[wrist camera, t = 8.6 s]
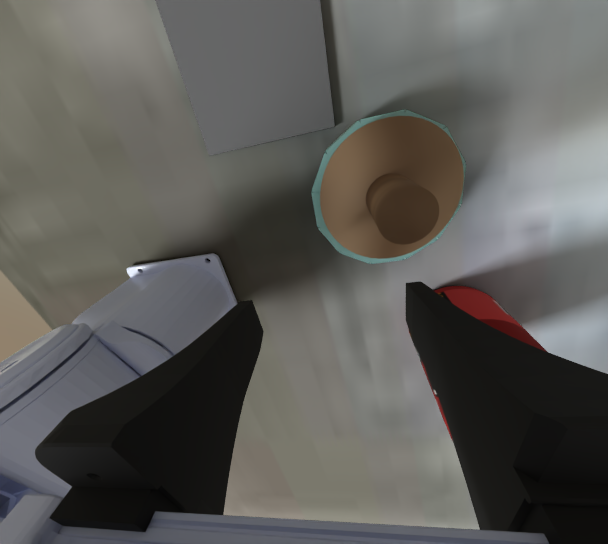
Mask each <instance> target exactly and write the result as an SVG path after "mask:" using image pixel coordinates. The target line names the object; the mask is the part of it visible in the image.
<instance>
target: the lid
mask: <svg viewBox="0 0 608 544" xmlns="http://www.w3.org/2000/svg"><path fill="white" fill-rule="evenodd" d="M463 182H464V171H463V164H462V159H461V156H460V153H459V151H458V149H457V147H456V145H455V143H454V142H453V140H452V139H451V138H450V137H449V135H448V134H447V133H446V132H445V131H443V130H442V129H441V128H440V127H438V126H437V125H435V124H433V123H432V122H430V121H427V120H425V119H422V118H417V117H413V116H393V117H387V118H383V119H379V120H376V121H374V122H371V123H369V124H366V125H364V126H363V127H361V128H359V129H357V130H356V131H355V132H353V133H352V134H351V135H349V136H348V137H347V138H346V139H345V140H344V141H343V142H342V143H341V144H340V145H339V147H338V148H337V149H336V150H335V152H334V153H333V155H332V156H331V158H330V160H329V162H328V164H327V166H326V169H325V172H324V175H323V179H322V183H321V190H320V206H321V212H322V216H323V219H324V222H325V224H326V226H327V228H328V230H329V232H330V233H331V235H332V236H333V237H334V238H335V239H336V241H337V242H339V243H340V244H341V245H342V246H343V247H345V248H346V249H348V250H349V251H351V252H353V253H355V254H358V255H361V256H364V257H369V258H377V259H385V258H394V257H398V256H402V255H405V254H408V253H411V252H413V251H415V250H417V249H419V248H421V247H422V246H424V245H426V244H427V243H429V242H430V241H431V240H432V239H434V238H435V237H436V236H437V235H438V234H439V233H440V232H441V231H442V230H443V229H444V227H445V226H446V225H447V224H448V222H449V221H450V219H451V218H452V216H453V214H454V212H455V210H456V208H457V206H458V204H459V201H460V198H461V194H462V190H463Z"/></svg>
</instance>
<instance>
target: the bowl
mask: <svg viewBox="0 0 608 544" xmlns="http://www.w3.org/2000/svg"><path fill="white" fill-rule="evenodd" d="M393 116H413V117H417V118H422V119H425V120H427V121H430V122H432V123H433V124H435V125H437V126H438V127H440V128H441V129H442V130H443V131H445V132H446V133H447V134H448V135H449V137H450V138H451V139H452V140H453V142H454V143H455V141H454V139H453V137H452V136H451V134H450V132H449V130H448V128H447V127H445V125H443V124H440V123H438V122H436V121H433V120H431V119H428V118H426V117H424V116H421V115H419V114H416V113H414V112H412V111H409V110H407V109H406V110H404V109H403V110H399V111H395V112H391V113H386V114H382V115H378V116H373V117H369V118H365V119H360V120H358V121H356V122H355V123H354V124H353V125H351V126H350V127H349V128H348V129H347V130H346V131H345V132H344V133H343V134H342V135H340V136H339V137H338V138H337V139H336V140H335V141H334V142H333V143H332V144H331V145H330V146H329V147H328V148H327V149H326V151H325V153H324V156H323V159H322V162H321V164H320V167H319V170H318V173H317V176H316V179H315V182H314V185H313V188H312V192H311V194H312V200H313V205H314V211H315V217H316V222H317V227H318V229H319V230H320V231H321V233H322V234H323V235H324V236H325V237H326V238H327V240H328V241H329V242H330V243H331V244H332V245H333V247H334V248H335V249H336V250H337V251H338V252H340V254H343V255H346V256H349V257H352V258H354V259H357V260H360V261H363V262H366V263H369V264H370V262H371V264H375V263H383V262H391V261H398V260H405V258H406V259H407V258H409V257H410V256H412V255H414V254H415V253H417V252H419V251H420V250H422V249H423V248H425V247H427V246H428V245H430V244H432V243H433V242H435V241H436V240H437V238H440V236H441V235H442V233H443V232H444V230H445V229H446V227H447V226H448V224H449V223H450V221H451V220H452V218H453V217H454V216H455V214H456V213H457V211H458V210H459V208H460V207H461V206H460V204H462V197H463V190H462V194H461V198H460V201H459V204H458V206H457V208H456V210H455V212H454V214H453V216H452V218H451V219H450V221H449V222H448V224H447V225H446V226H445V227H444V229H443V230H442V231H441V232H440V233H439V234H438V235H437V236H436V237H435V238H434V239H432V240H431V241H430V242H429V243H427V244H426V245H424V246H422V247H421V248H419V249H417V250H415V251H413V252H411V253H408V254H405V255H402V256H398V257H394V258H385V259H377V258H369V257H364V256H361V255H358V254H355V253H353V252H351V251H349V250H348V249H346V248H345V247H343V246H342V245H341V244H340V243H339V242H337V241H336V239H335V238H334V237H333V236H332V235H331V233H330V232H329V230H328V228H327V226H326V224H325V222H324V219H323V216H322V212H321V206H320V190H321V183H322V179H323V175H324V172H325V169H326V166H327V164H328V162H329V160H330V158H331V156H332V155H333V153H334V152H335V150H336V149H337V148H338V147H339V145H340V144H341V143H342V142H343V141H344V140H345V139H346V138H347V137H348V136H349V135H351V134H352V133H353V132H355V131H356V130H357V129H359V128H361V127H363V126H364V125H366V124H369V123H371V122H374V121H376V120H379V119H383V118H387V117H393ZM455 145H456V143H455ZM456 147H457V145H456ZM457 149H458V147H457ZM458 151H459V153H460V156H461V159H462V164H463V171H464V179H465V170H466V164H464V163H465V160H464V158H463V156H462V154H461V152H460V150H459V149H458ZM463 188H464V182H463Z"/></svg>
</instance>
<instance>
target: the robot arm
mask: <svg viewBox="0 0 608 544" xmlns="http://www.w3.org/2000/svg"><path fill="white" fill-rule="evenodd" d="M207 258H208V259H209V260H210V262H209V261H208V260H207ZM141 269H142V270H143V271H142V270H141ZM127 273H128V274H129V276H130V279H128V280H127V281H126V282H124V283H123V284H121V285H120V286H119V287H117V288H116V289H114V290H113V291H112V292H110V293H109V294H107V295H106V296H105V297H103V298H102V299H100V300H99V301H98V302H96V303H95V304H93V305H92V306H91V307H89V308H88V309H86V310H85V311H84V312H82V313H81V314H80V315H79V316H78V317H77V318H76V319H75V320H74V321H73V323H72V324H65V325H62V326H60V327H58V328H56V329H54V330H52V331H50V332H49V333H47V334H45V335H43V336H42V337H40V338H39V339H37V340H35V341H34V342H32V343H30V344H29V345H27V346H25V347H24V348H22V349H21V350H19V351H18V352H16V353H14V354H13V355H11V356H10V357H8V358H7V359H5V360H4V361H2V362H1V363H0V544H608V374H606V373H603V372H600V371H597V370H594V369H591V368H588V367H586V366H583V365H580V364H577V363H574V362H572V361H569V360H566V359H564V358H561V357H558V356H556V355H553V354H551V353H548V352H546V351H543V350H541V349H539V348H536V347H534V346H532V345H529V344H527V343H524V342H522V341H520V340H518V339H516V338H513V337H511V336H509V335H507V334H505V333H503V332H501V331H499V330H497V329H495V328H493V327H491V326H489V325H488V324H486V323H484V322H482V321H480V320H479V319H477V318H475V317H473V316H472V315H470V314H468V313H467V312H465V311H463V310H462V309H460V308H459V307H457V306H455V305H454V304H452V303H451V302H449V301H448V300H446V299H445V298H443V297H442V296H441V295H439V294H438V293H436V292H435V291H433V290H432V289H431V288H429V287H428V286H426V285H425V284H424V283H422V282H412V283H406V322H407V325H408V328H409V332H410V335H411V338H412V340H413V343H414V345H415V347H416V349H417V351H418V354H419V356H420V358H421V360H422V362H423V364H424V367H425V369H426V371H427V373H428V375H429V377H430V380H431V382H432V384H433V386H434V388H435V391H436V393H437V396H438V398H439V401H440V404H441V407H442V410H443V413H444V416H445V418H446V421H447V424H448V427H449V430H450V433H451V436H452V439H453V442H454V445H455V448H456V452H457V455H458V458H459V461H460V464H461V467H462V471H463V474H464V477H465V480H466V483H467V487H468V490H469V493H470V497H471V500H472V504H473V507H474V510H475V514H476V517H477V520H478V524H479V527H480V530H473V529H455V528H438V527H420V526H403V525H385V524H368V523H350V522H333V521H315V520H298V519H280V518H263V517H245V516H228V515H223V512H224V505H225V498H226V491H227V484H228V477H229V471H230V465H231V459H232V453H233V448H234V443H235V438H236V433H237V428H238V423H239V418H240V414H241V410H242V405H243V401H244V398H245V394H246V391H247V388H248V385H249V382H250V379H251V376H252V373H253V370H254V367H255V364H256V361H257V358H258V355H259V352H260V348H261V343H262V337H263V329H262V326H261V324H260V321H259V318H258V315H257V313H256V310H255V307H254V304H253V302H252V300H250V301H241V302H239V303H237V301H236V298H235V296H234V293H233V291H232V288H231V286H230V283H229V281H228V278H227V276H226V273H225V271H224V268H223V266H222V263H221V261H220V258H219V257H218V255H216V254H206V255H199V256H193V257H186V258H179V259H173V260H166V261H160V262H153V263H147V264H140V265H133V266H130V267H128V268H127Z"/></svg>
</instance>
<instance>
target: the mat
mask: <svg viewBox="0 0 608 544" xmlns="http://www.w3.org/2000/svg"><path fill="white" fill-rule="evenodd" d="M155 1H156V4H157V7H158V10H159V12H160V15H161V18H162V21H163V24H164V27H165V30H166V33H167V35H168V38H169V41H170V44H171V47H172V50H173V53H174V56H175V59H176V61H177V64H178V67H179V70H180V73H181V76H182V79H183V82H184V84H185V87H186V90H187V93H188V96H189V99H190V102H191V105H192V107H193V110H194V113H195V116H196V119H197V122H198V125H199V128H200V131H201V133H202V136H203V139H204V142H205V145H206V148H207V151H208V154H209V156H210V155H215V154H219V153H224V152H228V151H232V150H237V149H241V148H245V147H250V146H254V145H258V144H263V143H267V142H271V141H276V140H280V139H285V138H289V137H293V136H298V135H302V134H306V133H311V132H315V131H319V130H324V129H328V128H332V127H335V123H334V115H333V106H332V98H331V90H330V81H329V73H328V64H327V56H326V47H325V39H324V30H323V22H322V13H321V5H320V0H155Z"/></svg>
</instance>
